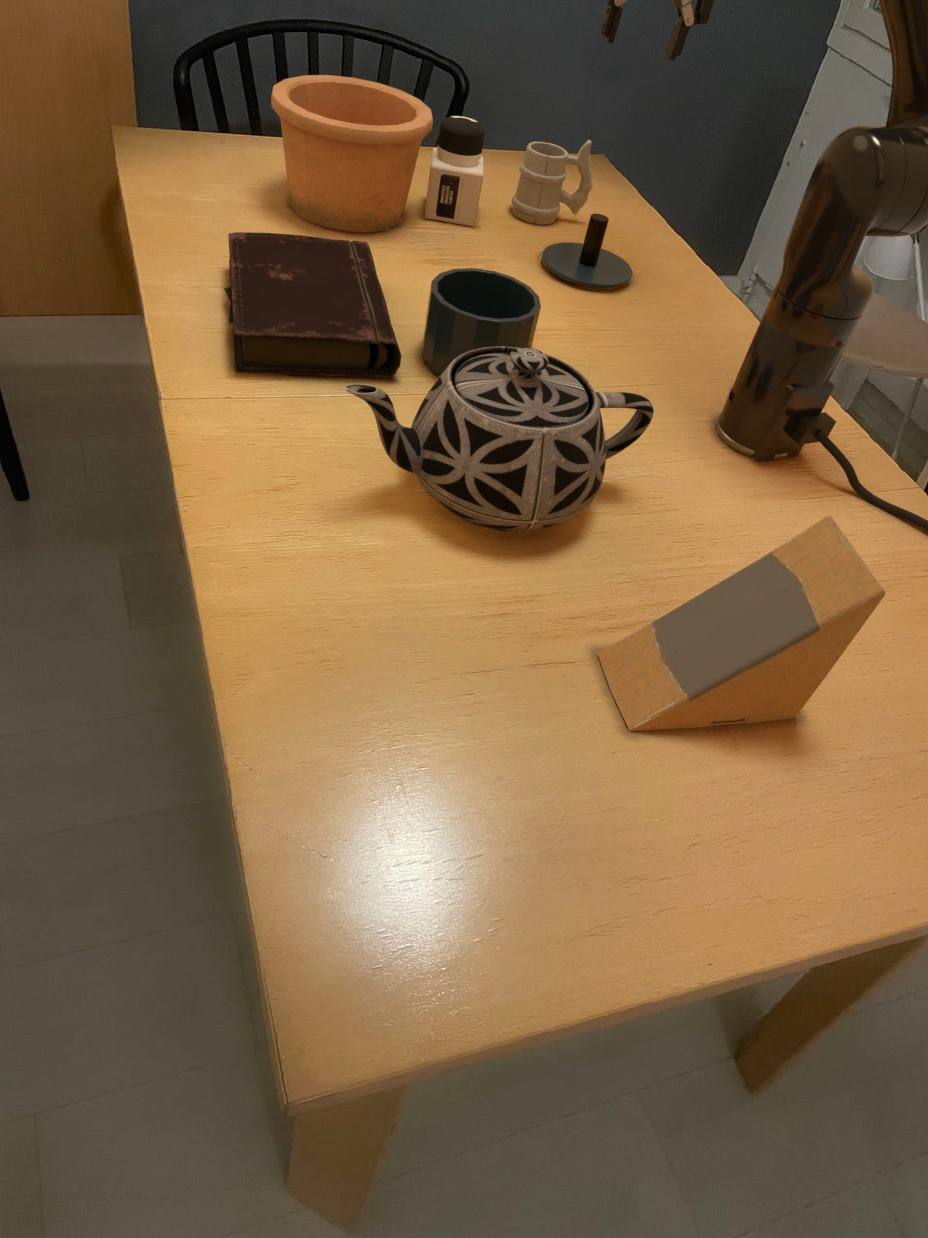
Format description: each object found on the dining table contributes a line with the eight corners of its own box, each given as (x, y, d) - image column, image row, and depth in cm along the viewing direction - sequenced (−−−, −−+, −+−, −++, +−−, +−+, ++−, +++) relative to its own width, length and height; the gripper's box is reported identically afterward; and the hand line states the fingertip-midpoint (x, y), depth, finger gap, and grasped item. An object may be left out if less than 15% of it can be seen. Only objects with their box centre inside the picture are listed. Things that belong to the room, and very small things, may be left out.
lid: (647, 290, 126) (664, 237, 121) (568, 294, 121) (582, 239, 116) (601, 248, 134) (615, 196, 129) (524, 251, 129) (536, 197, 123)
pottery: (238, 198, 125) (236, 86, 115) (339, 168, 139) (345, 66, 129) (355, 255, 119) (363, 141, 109) (448, 217, 133) (463, 114, 123)
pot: (542, 384, 103) (559, 317, 97) (447, 394, 98) (458, 324, 92) (497, 331, 110) (510, 266, 104) (406, 338, 105) (414, 269, 99)
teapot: (318, 438, 89) (326, 297, 78) (591, 430, 98) (631, 303, 87) (355, 566, 76) (370, 420, 66) (663, 543, 86) (720, 412, 75)
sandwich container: (594, 651, 74) (649, 513, 63) (753, 642, 78) (830, 512, 67) (627, 733, 68) (694, 597, 58) (797, 719, 72) (889, 590, 62)
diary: (369, 277, 115) (373, 239, 112) (398, 380, 99) (403, 339, 95) (222, 268, 110) (221, 227, 107) (227, 375, 94) (226, 331, 90)
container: (474, 227, 132) (490, 134, 123) (423, 218, 131) (435, 124, 122) (475, 207, 137) (490, 117, 128) (426, 199, 137) (438, 107, 127)
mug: (508, 202, 141) (523, 120, 133) (579, 213, 143) (599, 133, 134) (511, 221, 136) (527, 138, 127) (585, 232, 138) (606, 151, 129)
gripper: (642, -133, 95) (595, 41, 105) (756, -95, 99) (700, 69, 109) (621, -133, 101) (578, 32, 110) (729, -97, 105) (678, 59, 114)
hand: (638, 50), depth 110 cm, fingers open, 8 cm apart
